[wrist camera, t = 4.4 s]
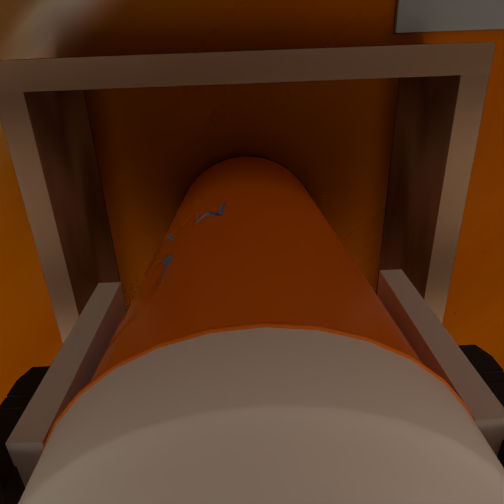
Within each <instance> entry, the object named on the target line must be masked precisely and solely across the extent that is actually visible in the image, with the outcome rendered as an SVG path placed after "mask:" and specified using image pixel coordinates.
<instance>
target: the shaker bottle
mask: <svg viewBox="0 0 504 504" xmlns="http://www.w3.org/2000/svg"><path fill="white" fill-rule="evenodd" d="M18 504H504V468H503V466H502V464H501V463H500V461H499V460H498V458H497V457H496V455H495V453H494V452H493V450H492V449H491V447H490V446H489V444H488V442H487V441H486V439H485V438H484V436H483V434H482V433H481V431H480V430H479V428H478V427H477V425H476V423H475V421H474V419H473V417H472V414H471V412H470V410H469V408H468V407H467V405H466V404H465V403H464V402H463V401H462V399H461V398H460V397H459V396H458V395H457V394H456V392H455V391H454V390H453V389H452V388H451V386H450V385H449V384H448V383H447V382H446V380H445V379H443V378H442V377H441V376H439V375H438V374H437V373H435V372H434V371H432V370H431V369H430V368H428V367H427V366H425V365H424V364H423V363H422V362H421V360H420V359H419V357H418V356H417V354H416V353H415V351H414V350H413V348H412V347H411V345H410V344H409V342H408V341H407V340H406V338H405V337H404V335H403V334H402V332H401V331H400V329H399V328H398V326H397V325H396V323H395V322H394V320H393V319H392V317H391V316H390V314H389V313H388V311H387V310H386V308H385V307H384V305H383V304H382V302H381V301H380V299H379V298H378V296H377V295H376V293H375V292H374V290H373V289H372V287H371V286H370V284H369V283H368V281H367V280H366V278H365V277H364V275H363V274H362V272H361V271H360V269H359V268H358V266H357V265H356V263H355V262H354V260H353V259H352V257H351V256H350V254H349V253H348V251H347V250H346V248H345V247H344V245H343V244H342V242H341V241H340V239H339V238H338V236H337V235H336V234H335V232H334V231H333V229H332V228H331V226H330V225H329V223H328V222H327V220H326V219H325V217H324V216H323V214H322V213H321V211H320V210H319V208H318V207H317V205H316V204H315V202H314V201H313V199H312V198H311V196H310V195H309V193H308V192H307V190H306V189H305V187H304V186H303V185H302V183H301V182H300V181H299V180H298V178H297V177H296V176H295V175H294V174H292V173H291V172H290V171H289V170H288V169H286V168H285V167H283V166H281V165H279V164H277V163H275V162H273V161H270V160H267V159H263V158H259V157H237V158H231V159H228V160H225V161H222V162H219V163H217V164H215V165H213V166H211V167H210V168H208V169H206V170H205V171H204V172H203V173H202V174H201V175H199V176H198V177H197V178H196V179H195V181H194V182H193V183H192V185H191V186H190V187H189V189H188V191H187V193H186V195H185V197H184V199H183V201H182V203H181V205H180V207H179V209H178V210H177V212H176V214H175V216H174V218H173V220H172V222H171V224H170V226H169V228H168V230H167V232H166V234H165V236H164V238H163V240H162V242H161V244H160V246H159V248H158V250H157V252H156V254H155V256H154V258H153V260H152V262H151V264H150V265H149V267H148V269H147V271H146V273H145V275H144V277H143V279H142V281H141V284H140V285H139V287H138V289H137V291H136V293H135V295H134V297H133V299H132V301H131V303H130V306H129V308H128V310H127V312H126V314H125V316H124V317H123V319H122V321H121V323H120V325H119V326H118V328H117V330H116V332H115V334H114V336H113V338H112V340H111V342H110V344H109V346H108V349H107V351H106V353H105V354H104V356H103V358H102V360H101V362H100V364H99V366H98V368H97V370H96V372H95V373H94V375H93V377H92V379H91V381H90V383H89V384H88V385H87V386H85V387H84V388H83V389H81V390H80V391H79V392H78V393H77V395H76V396H75V397H74V398H73V399H72V401H71V402H70V403H69V404H68V406H67V407H66V408H65V409H64V411H63V412H62V413H61V414H60V415H59V417H58V418H57V419H56V420H55V422H54V424H53V426H52V428H51V430H50V433H49V435H48V437H47V440H46V442H45V444H44V447H43V449H42V451H41V453H40V459H39V461H38V463H37V465H36V467H35V469H34V471H33V473H32V475H31V478H30V480H29V482H28V484H27V486H26V488H25V490H24V492H23V494H22V496H21V499H20V501H19V503H18Z"/></svg>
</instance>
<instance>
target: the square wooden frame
mask: <svg viewBox="0 0 504 504" xmlns="http://www.w3.org/2000/svg"><path fill="white" fill-rule="evenodd" d="M495 44H496V42H474V43H443V44H414V45H387V46H361V47H334V48H307V49H280V50H254V51H227V52H200V53H173V54H147V55H120V56H93V57H66V58H41V59H18V60H0V118H1V122H2V126H3V129H4V133H5V136H6V140H7V144H8V147H9V151H10V155H11V158H12V162H13V165H14V169H15V173H16V176H17V180H18V183H19V187H20V191H21V194H22V198H23V201H24V205H25V209H26V212H27V216H28V219H29V223H30V227H31V230H32V234H33V237H34V241H35V245H36V248H37V252H38V256H39V259H40V263H41V266H42V270H43V274H44V277H45V281H46V284H47V288H48V292H49V295H50V299H51V302H52V306H53V310H54V313H55V317H56V320H57V324H58V328H59V331H60V335H61V338H62V342H63V344H64V342H65V340H66V338H67V337H68V335H69V333H70V332H71V330H72V328H73V326H74V325H75V323H76V321H77V319H78V318H79V316H80V314H81V313H82V311H83V309H84V307H85V306H86V304H87V302H88V301H89V299H90V297H91V295H92V294H93V292H94V290H95V289H96V287H97V285H98V283H111V282H120V279H119V274H118V269H117V263H116V258H115V253H114V248H113V242H112V237H111V232H110V227H109V222H108V216H107V211H106V206H105V201H104V195H103V190H102V185H101V180H100V175H99V169H98V164H97V159H96V154H95V148H94V143H93V138H92V133H91V127H90V122H89V117H88V112H87V107H86V101H85V96H84V91H83V90H88V89H114V88H141V87H167V86H193V85H219V84H245V83H271V82H297V81H323V80H349V79H375V78H400V79H399V88H398V98H397V107H396V117H395V126H394V135H393V145H392V154H391V163H390V173H389V182H388V191H387V201H386V210H385V219H384V229H383V238H382V247H381V257H380V266H379V273H380V270H398V269H402V271H403V272H404V273H405V275H406V276H407V277H408V279H409V280H410V282H411V283H412V284H413V286H414V287H415V288H416V290H417V291H418V292H419V294H420V295H421V296H422V298H423V299H424V300H425V302H426V303H427V305H428V306H429V307H430V309H431V310H432V311H433V313H434V314H435V315H436V317H437V318H438V319H439V321H440V322H441V323H442V322H443V317H444V311H445V306H446V301H447V296H448V290H449V285H450V280H451V275H452V269H453V264H454V259H455V254H456V248H457V243H458V238H459V233H460V227H461V222H462V217H463V212H464V206H465V201H466V196H467V191H468V186H469V180H470V175H471V170H472V165H473V159H474V154H475V149H476V144H477V138H478V133H479V128H480V123H481V117H482V112H483V107H484V102H485V96H486V91H487V86H488V81H489V75H490V70H491V65H492V60H493V54H494V49H495ZM378 282H379V275H378ZM377 291H378V285H377ZM376 295H377V294H376Z"/></svg>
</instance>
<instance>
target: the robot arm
mask: <svg viewBox="0 0 504 504" xmlns="http://www.w3.org/2000/svg"><path fill="white" fill-rule="evenodd" d="M377 296H378V298H379V299H380V301H381V302H382V304H383V305H384V307H385V308H386V310H387V311H388V313H389V314H390V316H391V317H392V319H393V320H394V322H395V323H396V325H397V326H398V328H399V329H400V331H401V332H402V334H403V335H404V337H405V338H406V340H407V341H408V342H409V344H410V345H411V347H412V348H413V350H414V351H415V353H416V354H417V356H418V357H419V359H420V360H421V362H422V363H423V364H424V365H425V366H427V367H428V368H430V369H431V370H432V371H434V372H435V373H437V374H438V375H439V376H441V377H442V378H443V379H445V380H446V382H447V383H448V384H449V385H450V386H451V388H452V389H453V390H454V391H455V392H456V394H457V395H458V396H459V397H460V398H461V399H462V401H463V402H464V403H465V404H466V405H467V407H468V408H469V410H470V412H471V414H472V417H473V419H474V421H475V423H476V425H477V427H478V428H479V430H480V431H481V433H482V434H483V436H484V438H485V439H486V441H487V442H488V444H489V446H490V447H491V449H492V450H493V452H494V453H495V455H496V457H497V458H498V460H499V461H500V463H501V464H502V466H503V468H504V372H503V369H502V368H501V367H500V366H499V364H498V363H497V362H496V361H495V359H494V358H493V357H492V356H491V355H489V354H488V353H486V352H485V351H483V350H482V349H481V348H479V347H478V346H476V345H459V346H458V345H457V344H456V342H455V341H454V340H453V338H452V337H451V336H450V334H449V333H448V332H447V330H446V329H445V328H444V326H443V325H442V323H441V322H440V321H439V319H438V318H437V317H436V315H435V314H434V313H433V311H432V310H431V309H430V307H429V306H428V305H427V303H426V302H425V300H424V299H423V298H422V296H421V295H420V294H419V292H418V291H417V290H416V288H415V287H414V286H413V284H412V283H411V282H410V280H409V279H408V277H407V276H406V275H405V273H404V272H403V271H402V269H398V270H380V273H379V282H378V291H377ZM126 312H127V311H126V306H125V301H124V296H123V291H122V285H121V282H111V283H98V285H97V287H96V289H95V290H94V292H93V294H92V295H91V297H90V299H89V301H88V302H87V304H86V306H85V307H84V309H83V311H82V313H81V314H80V316H79V318H78V319H77V321H76V323H75V325H74V326H73V328H72V330H71V332H70V333H69V335H68V337H67V338H66V340H65V342H64V344H63V345H62V347H61V349H60V350H59V352H58V354H57V356H56V357H55V359H54V361H53V362H52V364H51V366H46V367H32V368H31V369H30V370H29V371H27V372H26V373H25V374H24V375H23V376H22V377H20V378H19V379H18V380H17V381H16V383H15V384H14V386H13V387H12V389H11V390H10V392H9V393H8V395H7V398H5V399H4V401H3V402H2V404H1V405H0V504H18V503H19V501H20V499H21V496H22V494H23V492H24V490H25V488H26V486H27V484H28V482H29V480H30V478H31V475H32V473H33V471H34V469H35V467H36V465H37V463H38V461H39V459H40V453H41V451H42V449H43V447H44V444H45V442H46V440H47V437H48V435H49V433H50V430H51V428H52V426H53V424H54V422H55V420H56V419H57V418H58V417H59V415H60V414H61V413H62V412H63V411H64V409H65V408H66V407H67V406H68V404H69V403H70V402H71V401H72V399H73V398H74V397H75V396H76V395H77V393H78V392H79V391H80V390H81V389H83V388H84V387H85V386H87V385H88V384H89V383H90V381H91V379H92V377H93V375H94V373H95V372H96V370H97V368H98V366H99V364H100V362H101V360H102V358H103V356H104V354H105V353H106V351H107V349H108V346H109V344H110V342H111V340H112V338H113V336H114V334H115V332H116V330H117V328H118V326H119V325H120V323H121V321H122V319H123V317H124V316H125V314H126Z"/></svg>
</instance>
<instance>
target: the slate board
mask: <svg viewBox="0 0 504 504" xmlns="http://www.w3.org/2000/svg"><path fill="white" fill-rule="evenodd" d="M492 29H504V0H397V3H396V13H395V24H394V33H411V32H438V31H465V30H492Z"/></svg>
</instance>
